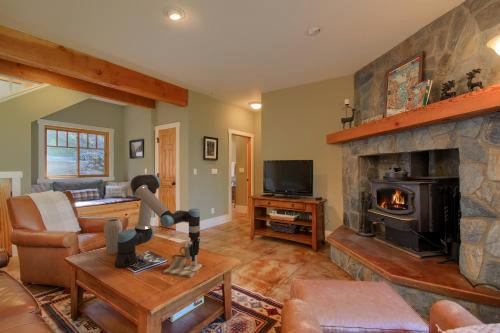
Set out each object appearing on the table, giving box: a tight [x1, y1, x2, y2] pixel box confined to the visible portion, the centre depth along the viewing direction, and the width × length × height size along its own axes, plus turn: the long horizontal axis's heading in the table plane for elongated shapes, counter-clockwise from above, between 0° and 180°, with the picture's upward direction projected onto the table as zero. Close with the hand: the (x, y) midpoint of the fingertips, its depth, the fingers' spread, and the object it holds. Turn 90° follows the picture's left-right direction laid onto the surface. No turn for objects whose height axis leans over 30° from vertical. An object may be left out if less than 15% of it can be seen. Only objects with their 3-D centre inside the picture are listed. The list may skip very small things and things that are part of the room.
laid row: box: [162, 267, 196, 279], centre depth 161 cm, size 22×17×2 cm
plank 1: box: [168, 256, 188, 270], centre depth 165 cm, size 10×9×2 cm
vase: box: [103, 218, 123, 255], centre depth 191 cm, size 13×13×26 cm
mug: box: [179, 243, 192, 260], centre depth 183 cm, size 8×13×10 cm, turn 78°
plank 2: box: [182, 262, 203, 274], centre depth 163 cm, size 10×9×2 cm
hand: (194, 264), depth 165 cm, fingers closed
